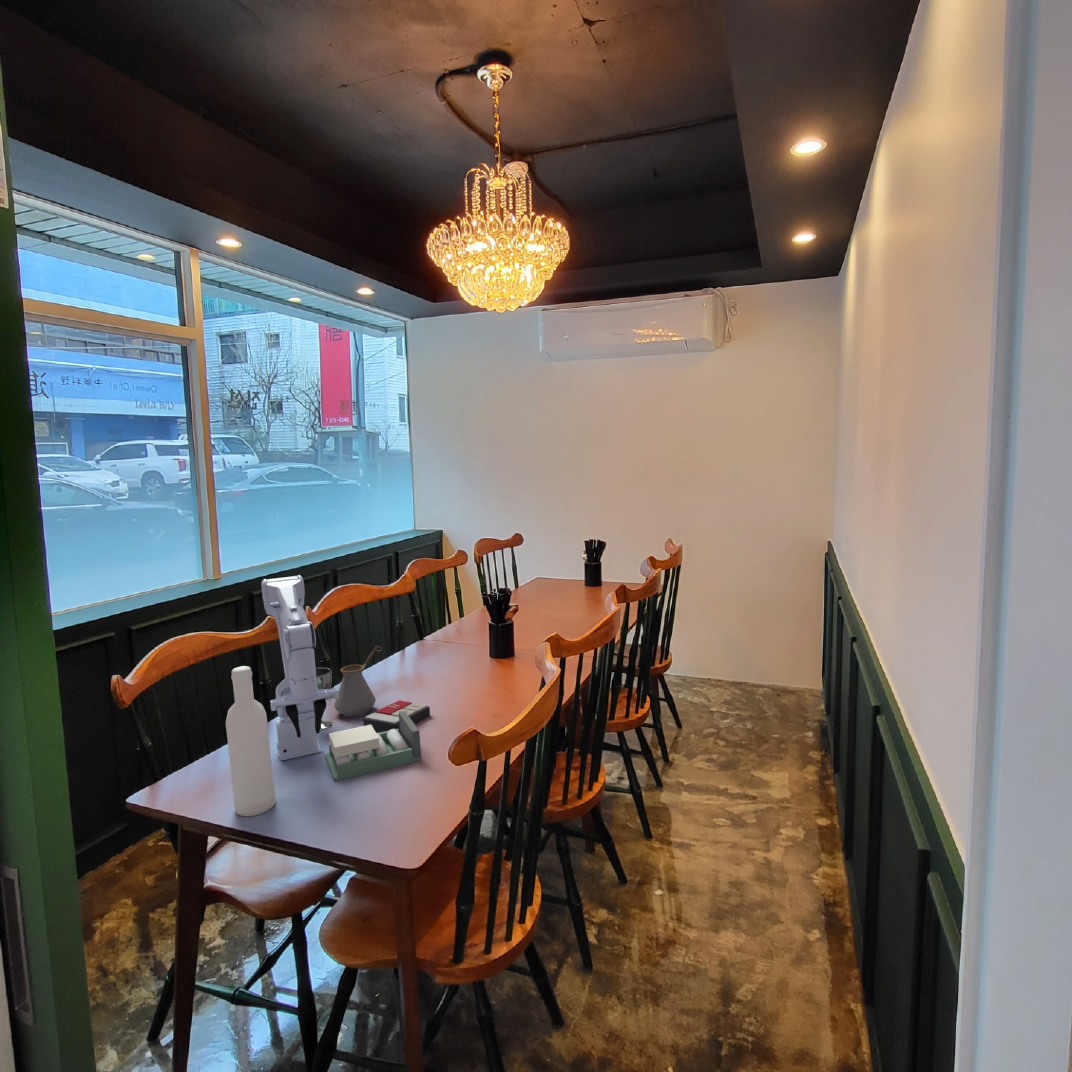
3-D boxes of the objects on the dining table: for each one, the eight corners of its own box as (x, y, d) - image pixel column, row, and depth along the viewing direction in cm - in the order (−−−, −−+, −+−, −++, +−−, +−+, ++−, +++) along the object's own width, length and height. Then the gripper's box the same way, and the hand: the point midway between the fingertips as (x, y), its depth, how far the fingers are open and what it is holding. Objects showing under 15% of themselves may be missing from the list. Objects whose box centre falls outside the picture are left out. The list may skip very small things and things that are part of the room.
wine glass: (324, 717, 188) (320, 665, 186) (341, 723, 183) (336, 670, 181) (299, 727, 182) (293, 673, 180) (315, 734, 177) (310, 679, 175)
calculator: (430, 703, 186) (395, 721, 173) (430, 719, 186) (395, 738, 173) (398, 698, 191) (362, 715, 178) (399, 713, 191) (362, 731, 178)
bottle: (263, 793, 147) (250, 660, 143) (283, 804, 142) (269, 666, 138) (227, 809, 141) (212, 670, 137) (246, 821, 136) (231, 677, 132)
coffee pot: (363, 721, 185) (359, 668, 183) (326, 718, 188) (322, 666, 186) (399, 693, 205) (395, 645, 203) (365, 691, 208) (361, 644, 206)
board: (335, 757, 153) (334, 747, 152) (329, 742, 161) (328, 733, 161) (379, 747, 157) (378, 737, 157) (371, 733, 165) (371, 724, 165)
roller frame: (334, 781, 151) (331, 749, 150) (325, 756, 163) (322, 727, 162) (421, 760, 159) (419, 730, 158) (406, 738, 172) (404, 710, 171)
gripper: (269, 687, 146) (275, 747, 147) (338, 675, 152) (343, 733, 154) (267, 678, 152) (273, 735, 154) (333, 667, 158) (338, 722, 160)
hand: (308, 733), depth 154 cm, fingers open, 3 cm apart
